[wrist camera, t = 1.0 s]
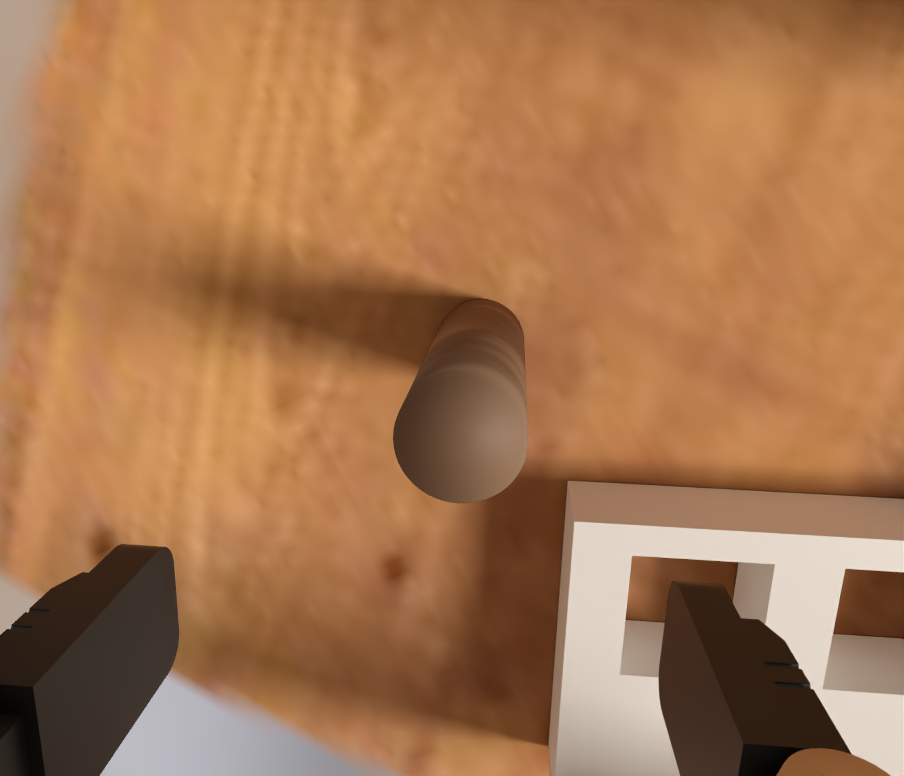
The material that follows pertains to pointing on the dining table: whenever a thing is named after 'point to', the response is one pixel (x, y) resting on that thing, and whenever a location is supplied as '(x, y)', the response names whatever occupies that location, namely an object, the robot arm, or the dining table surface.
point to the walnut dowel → (467, 407)
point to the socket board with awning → (755, 597)
